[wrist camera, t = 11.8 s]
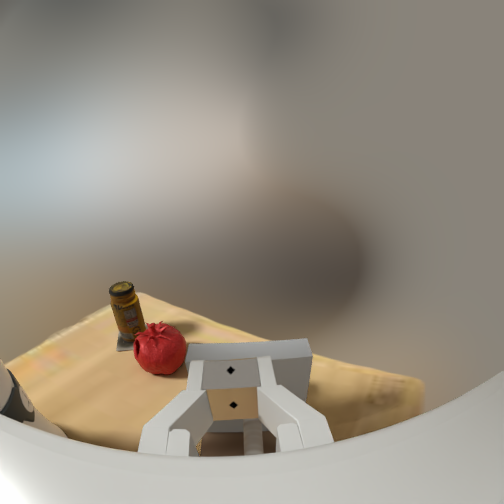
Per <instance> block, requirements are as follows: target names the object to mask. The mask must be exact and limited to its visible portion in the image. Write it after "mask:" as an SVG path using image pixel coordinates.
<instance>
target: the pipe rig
mask: <svg viewBox="0 0 504 504" xmlns="http://www.w3.org/2000/svg"><path fill="white" fill-rule="evenodd" d="M243 429H244V432H206V433H205V434H204V436H203V437H202V444H201V455H200V457H224V456H245V455H257V454H268V453H276V437H275V436H274V435H273V434H272V433H271V432H270V431H262V425H261V421H260V420H259V418H253V419H243Z"/></svg>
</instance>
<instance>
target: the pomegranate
mask: <svg viewBox="0 0 504 504" xmlns="http://www.w3.org/2000/svg"><path fill="white" fill-rule="evenodd" d="M161 322H163V321H161ZM161 322H160V323H159V324H155V323H151V324H148V323H146V322H145V323H146V324H147V326H148V329H146V330H145V331H144V332H138V333H137V334H135V335H138V334H140V335H139V336H137V338H136V339H135V341H134V344H133V347H134V356H135V359H136V360H137V362H138V363H139V364H140V366H141V367H142V368H143V369H144V370H145V371H147V372H149V373H152V374H161V373H163V374H171V373H173V372H175V371H176V370H177V368H178V367H180V366H181V364H182V363H183V362H184V359H185V355H186V341H185V338H184V337H183V335H182V334H181V333H180V332H179V331H178V330H177V329H175V328H173V326H169V325H168V324H165V323H161Z"/></svg>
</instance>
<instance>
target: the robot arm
mask: <svg viewBox="0 0 504 504" xmlns="http://www.w3.org/2000/svg"><path fill="white" fill-rule="evenodd" d="M253 418H259V420H260V421H261V422H262V423H263V424H264V425H265V426H266V428H267V429H268V430H269V431H270V432H271V433H272V434H273V435H274V436H275V437H276V453H268V454H257V455H245V456H224V457H199V454H198V452H197V449H196V447H195V446H196V445H197V444H198V442H199V441H200V440H201V438H202V437H203V436H204V434H205V433H206V432H207V430H208V429H209V427H210V426H211V425H212V423H213V421H218V420H233V419H253ZM0 504H504V371H502V372H500V373H499V374H497V375H496V376H494V377H492V378H491V379H489V380H488V381H486V382H484V383H483V384H481V385H480V386H478V387H476V388H474V389H473V390H470V391H469V392H467V393H465V394H463V395H461V396H459V397H457V398H455V399H453V400H451V401H450V402H447V403H445V404H443V405H441V406H439V407H437V408H435V409H432V410H430V411H428V412H425V413H423V414H421V415H418V416H416V417H413V418H411V419H408V420H406V421H403V422H400V423H397V424H395V425H392V426H389V427H386V428H383V429H380V430H377V431H374V432H370V433H367V434H364V435H360V436H357V437H353V438H349V439H345V440H341V441H337V442H334V440H333V437H332V434H331V432H330V429H329V426H328V423H327V420H326V418H325V416H324V415H322V414H321V413H319V412H318V411H316V410H315V409H314V408H312V407H311V406H309V405H308V404H307V403H305V402H304V401H302V400H301V399H300V398H298V397H297V396H296V395H294V394H293V393H292V392H290V391H289V390H287V389H286V388H285V387H283V386H282V385H277V382H276V378H275V373H274V369H273V364H272V360H271V357H270V356H263V357H257V358H256V357H255V358H244V359H230V360H205V361H204V360H192V361H191V362H190V368H189V375H188V382H187V389H186V390H182V391H181V392H180V393H179V394H178V395H177V396H176V397H175V398H174V399H173V400H172V401H171V402H169V403H168V404H167V405H166V406H165V407H164V408H163V409H162V410H161V411H160V412H158V413H157V414H156V415H155V416H154V417H153V418H152V419H151V420H150V421H148V422H147V423H146V424H145V425H144V426H143V430H142V434H141V438H140V443H139V447H138V452H132V451H125V450H119V449H113V448H107V447H102V446H97V445H93V444H88V443H84V442H80V441H76V440H72V439H69V438H67V436H66V434H65V433H64V432H63V431H62V430H61V429H60V428H59V427H58V426H56V425H55V424H53V423H52V422H50V421H49V420H48V419H46V418H45V417H44V416H43V415H42V414H41V413H40V412H39V411H38V410H37V409H36V408H35V407H34V406H33V404H32V402H31V400H30V399H29V397H28V395H27V394H26V392H25V391H24V389H23V388H22V387H21V386H20V384H19V383H18V381H17V380H16V378H15V377H14V375H13V374H12V373H11V371H10V370H8V369H7V368H6V367H5V366H4V364H3V362H2V360H1V359H0Z"/></svg>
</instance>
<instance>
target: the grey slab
mask: <svg viewBox="0 0 504 504" xmlns="http://www.w3.org/2000/svg"><path fill="white" fill-rule="evenodd" d="M263 356H270V357H271V360H272V364H273V369H274V373H275V378H276V382H277V385H282V386H283V387H285V388H286V389H287V390H289V391H290V392H292V393H293V394H294V395H296V396H297V397H298V398H300V399H301V400H302V401H304V402H305V403H306V398H307V392H308V385H309V379H310V372H311V365H312V357H313V356H312V352H311V350H310V346H309V343H308V340H307V338H305V339H295V340H282V341H266V342H247V343H214V344H189V346H188V351H187V355H186V360H185V364H186V368H187V371H188V375H189V368H190V362H191V361H192V360H204V361H205V360H230V359H244V358H255V357H256V358H257V357H263ZM261 425H262V431H269V430H268V429H267V428H266V426H265V425H264V424H263V423H262V422H261ZM207 432H244V429H243V419H233V420H218V421H213V423H212V425H211V426H210V427H209V429H208V430H207Z"/></svg>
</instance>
